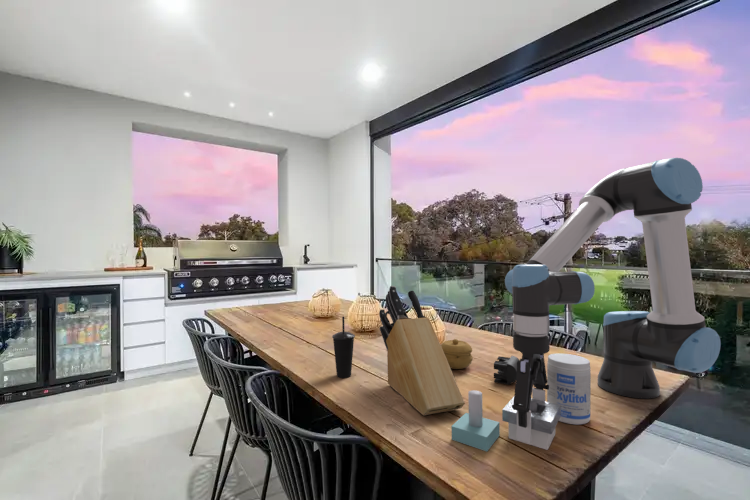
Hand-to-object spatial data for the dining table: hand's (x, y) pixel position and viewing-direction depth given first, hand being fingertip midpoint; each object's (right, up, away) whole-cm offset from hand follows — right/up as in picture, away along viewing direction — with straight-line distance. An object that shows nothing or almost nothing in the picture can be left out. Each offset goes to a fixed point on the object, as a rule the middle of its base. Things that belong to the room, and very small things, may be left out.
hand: (532, 427), depth 80 cm
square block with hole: (0, +2, 0) cm, 2 cm away
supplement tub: (+13, -2, +9) cm, 16 cm away
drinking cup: (-46, -3, +40) cm, 61 cm away
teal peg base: (-13, -2, 0) cm, 13 cm away
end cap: (+8, -2, +35) cm, 35 cm away
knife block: (-23, -2, +25) cm, 35 cm away
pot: (-6, -2, +48) cm, 48 cm away
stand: (0, -2, 0) cm, 2 cm away
